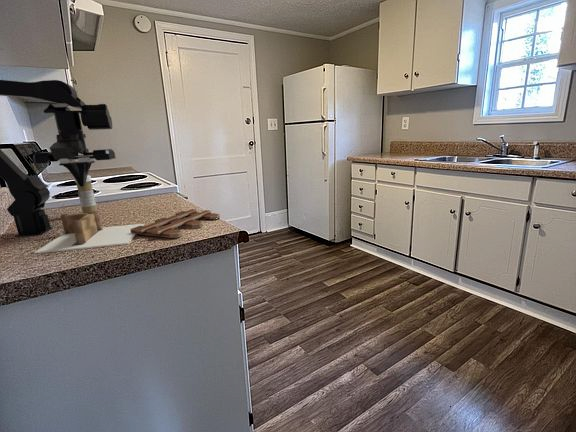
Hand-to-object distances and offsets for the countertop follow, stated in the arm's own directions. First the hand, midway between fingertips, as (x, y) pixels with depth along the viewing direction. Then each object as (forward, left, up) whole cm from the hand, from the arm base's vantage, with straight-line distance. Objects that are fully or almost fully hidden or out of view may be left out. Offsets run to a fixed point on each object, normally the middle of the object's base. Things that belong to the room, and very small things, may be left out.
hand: (82, 186), depth 89 cm
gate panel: (+4, -14, -11) cm, 19 cm away
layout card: (+6, -13, -12) cm, 19 cm away
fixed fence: (+1, -7, -12) cm, 14 cm away
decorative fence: (+27, -9, -12) cm, 30 cm away
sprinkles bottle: (-6, +16, -12) cm, 21 cm away
